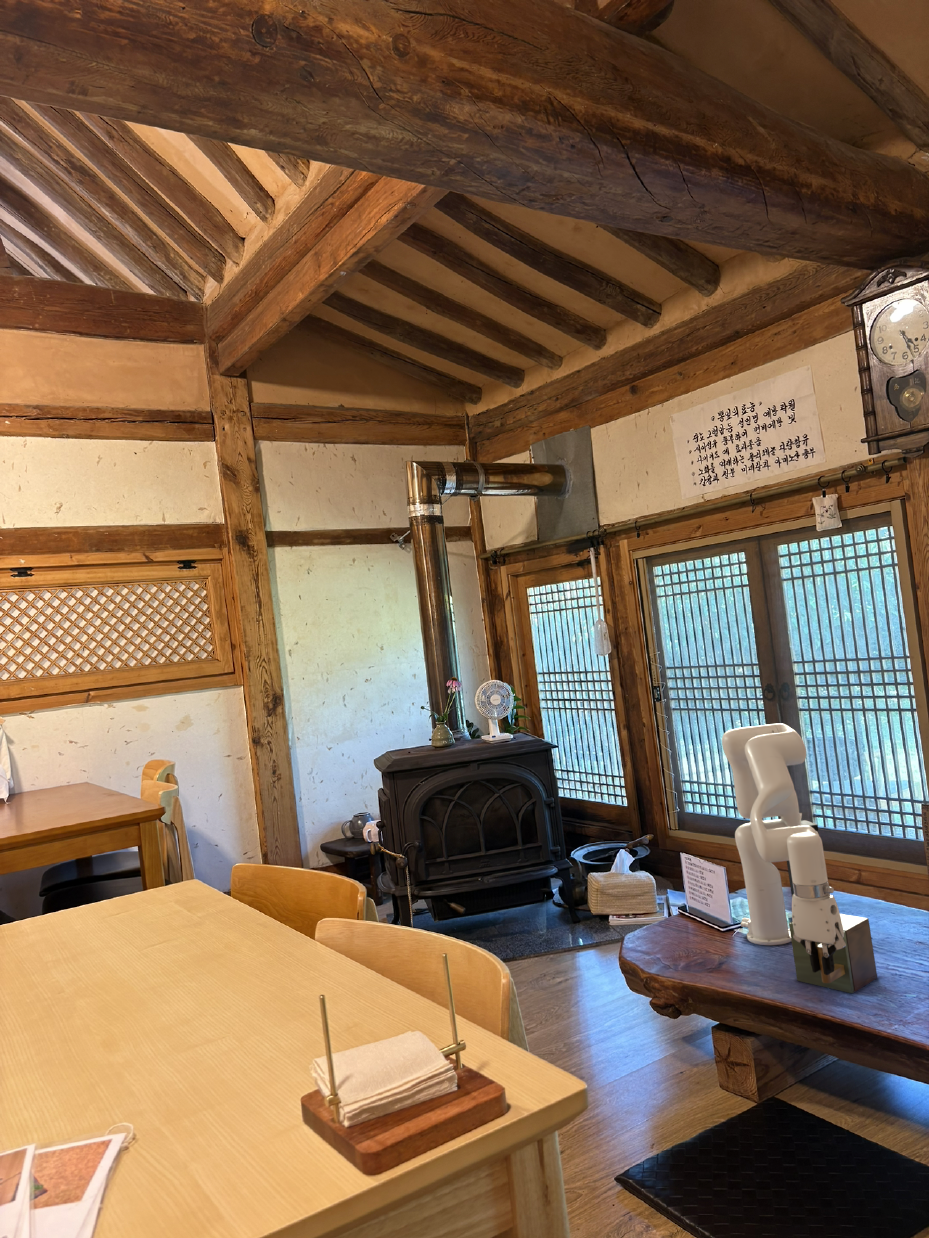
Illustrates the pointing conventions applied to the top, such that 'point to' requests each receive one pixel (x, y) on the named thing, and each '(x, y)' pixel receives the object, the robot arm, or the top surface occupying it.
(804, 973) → the door
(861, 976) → the cupboard
